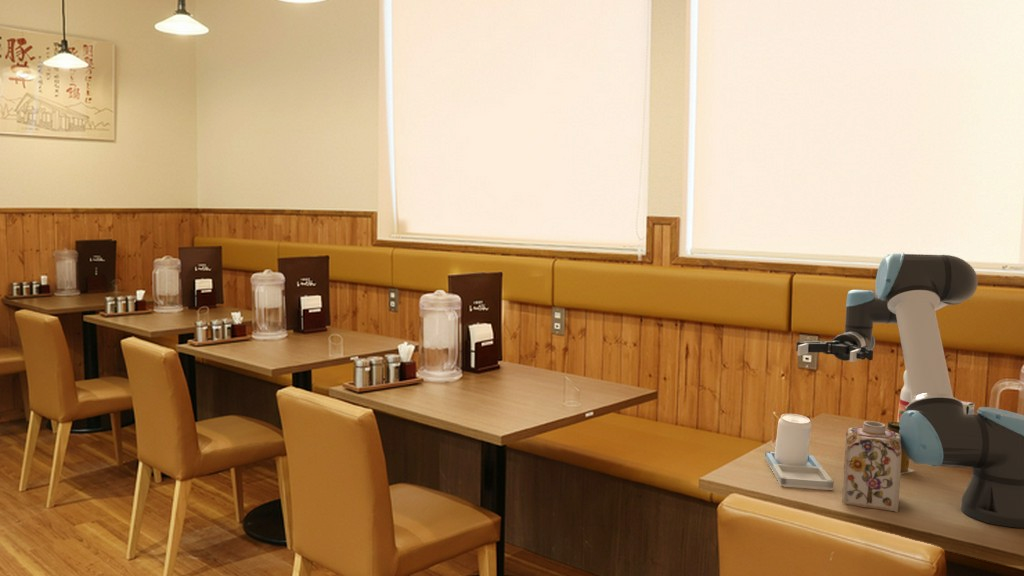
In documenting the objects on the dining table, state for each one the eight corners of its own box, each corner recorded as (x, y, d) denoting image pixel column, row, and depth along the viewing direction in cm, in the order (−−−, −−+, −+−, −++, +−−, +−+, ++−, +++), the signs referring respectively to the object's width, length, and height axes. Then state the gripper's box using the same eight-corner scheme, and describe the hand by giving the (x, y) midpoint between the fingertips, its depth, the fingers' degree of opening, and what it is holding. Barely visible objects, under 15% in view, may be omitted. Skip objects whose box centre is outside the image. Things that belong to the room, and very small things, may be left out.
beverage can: (808, 460, 216) (814, 416, 214) (804, 471, 209) (809, 426, 207) (776, 453, 220) (781, 410, 217) (771, 464, 213) (776, 419, 210)
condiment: (915, 471, 214) (919, 425, 213) (896, 476, 210) (900, 429, 209) (889, 463, 220) (892, 419, 219) (870, 468, 216) (873, 423, 215)
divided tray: (833, 490, 197) (833, 481, 196) (780, 486, 198) (781, 478, 198) (811, 462, 219) (812, 454, 219) (764, 458, 221) (765, 451, 221)
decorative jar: (842, 489, 198) (847, 415, 196) (896, 496, 193) (901, 420, 192) (841, 504, 187) (846, 426, 185) (898, 513, 182) (904, 432, 181)
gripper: (894, 364, 229) (873, 374, 212) (803, 354, 244) (777, 361, 227) (895, 337, 228) (875, 344, 211) (804, 328, 243) (779, 334, 227)
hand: (824, 353), depth 219 cm, fingers open, 13 cm apart
